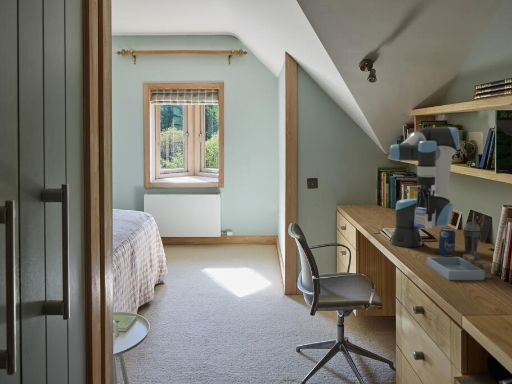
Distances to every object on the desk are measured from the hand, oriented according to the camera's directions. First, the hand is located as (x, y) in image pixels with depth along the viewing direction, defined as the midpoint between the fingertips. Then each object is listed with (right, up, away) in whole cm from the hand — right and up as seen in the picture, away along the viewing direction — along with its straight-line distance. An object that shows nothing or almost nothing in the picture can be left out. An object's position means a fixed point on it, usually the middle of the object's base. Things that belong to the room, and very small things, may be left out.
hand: (424, 226), depth 223 cm
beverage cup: (+25, -14, +9) cm, 30 cm away
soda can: (+14, -14, +10) cm, 22 cm away
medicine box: (0, -1, 0) cm, 1 cm away
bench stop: (+14, -17, -20) cm, 30 cm away
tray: (+5, -17, -20) cm, 27 cm away
